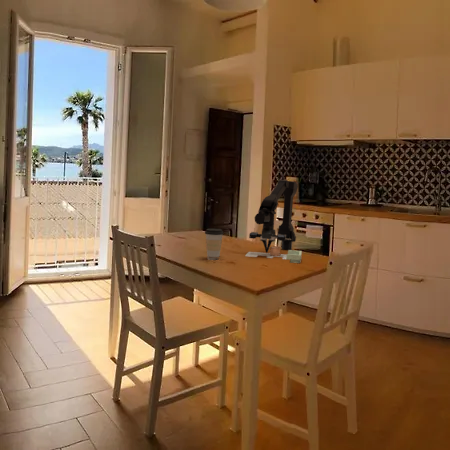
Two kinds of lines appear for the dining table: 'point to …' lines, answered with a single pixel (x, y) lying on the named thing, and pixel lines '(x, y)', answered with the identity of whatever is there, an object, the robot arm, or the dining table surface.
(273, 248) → the pink short cylinder
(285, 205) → the robot arm
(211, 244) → the coffee cup
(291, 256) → the deck
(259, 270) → the dining table surface
